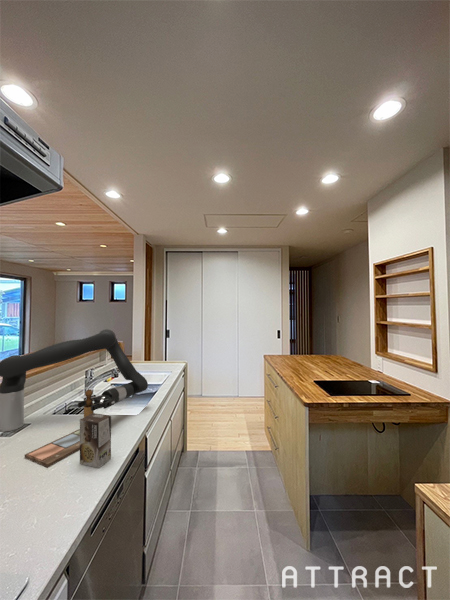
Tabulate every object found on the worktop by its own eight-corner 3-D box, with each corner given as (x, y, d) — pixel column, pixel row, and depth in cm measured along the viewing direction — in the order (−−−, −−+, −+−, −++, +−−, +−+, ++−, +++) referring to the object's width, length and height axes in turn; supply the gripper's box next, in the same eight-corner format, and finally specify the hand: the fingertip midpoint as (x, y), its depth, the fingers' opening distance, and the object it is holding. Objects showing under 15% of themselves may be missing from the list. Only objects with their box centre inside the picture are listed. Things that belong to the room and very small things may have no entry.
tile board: (24, 457, 100) (24, 453, 100) (88, 427, 124) (88, 424, 124) (47, 467, 94) (47, 462, 94) (109, 433, 118) (109, 430, 118)
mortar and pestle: (89, 434, 114) (90, 392, 114) (76, 433, 115) (76, 391, 116) (99, 427, 121) (100, 388, 121) (87, 426, 122) (87, 387, 122)
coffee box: (111, 458, 99) (112, 415, 100) (98, 468, 93) (98, 422, 93) (92, 454, 102) (93, 412, 102) (78, 463, 96) (79, 419, 96)
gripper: (104, 385, 134) (74, 396, 119) (125, 389, 128) (96, 400, 113) (104, 400, 134) (73, 412, 119) (125, 405, 128) (96, 418, 113)
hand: (84, 407), depth 116 cm, fingers open, 8 cm apart
